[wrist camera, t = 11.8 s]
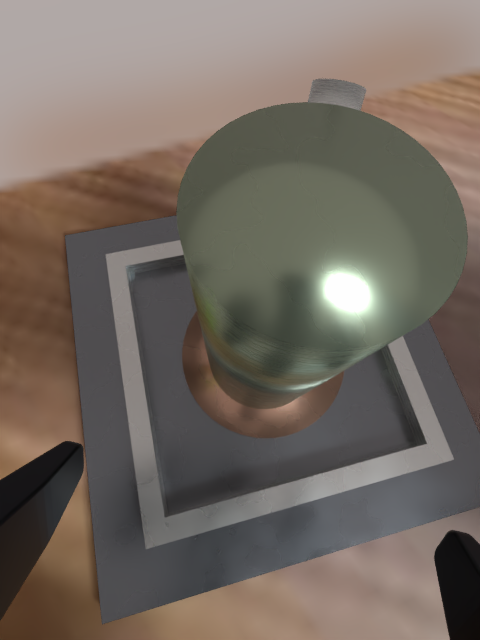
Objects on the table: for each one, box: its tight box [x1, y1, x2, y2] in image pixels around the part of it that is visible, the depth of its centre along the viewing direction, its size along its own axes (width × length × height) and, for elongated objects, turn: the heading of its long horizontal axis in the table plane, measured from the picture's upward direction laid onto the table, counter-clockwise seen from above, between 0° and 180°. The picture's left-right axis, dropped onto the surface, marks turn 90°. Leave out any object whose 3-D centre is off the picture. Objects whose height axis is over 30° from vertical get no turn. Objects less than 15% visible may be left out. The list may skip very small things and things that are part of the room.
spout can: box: [177, 79, 468, 409], centre depth 13 cm, size 8×6×13 cm
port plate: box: [65, 215, 480, 624], centre depth 19 cm, size 20×20×2 cm
